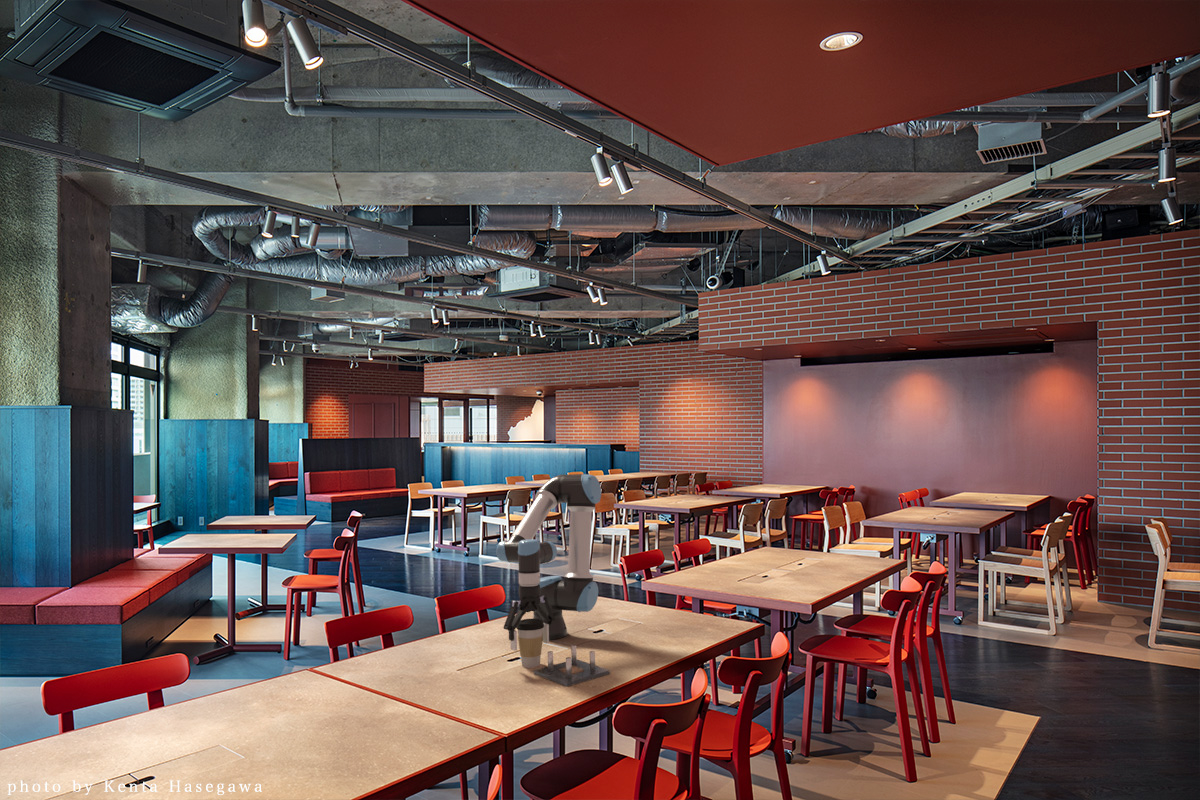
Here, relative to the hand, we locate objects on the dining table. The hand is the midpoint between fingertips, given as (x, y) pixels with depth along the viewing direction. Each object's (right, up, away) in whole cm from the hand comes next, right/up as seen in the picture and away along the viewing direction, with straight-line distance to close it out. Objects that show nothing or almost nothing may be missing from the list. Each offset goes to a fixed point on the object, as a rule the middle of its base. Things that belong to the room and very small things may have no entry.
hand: (530, 646), depth 254 cm
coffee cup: (0, -7, 0) cm, 7 cm away
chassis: (+15, -5, -11) cm, 19 cm away
